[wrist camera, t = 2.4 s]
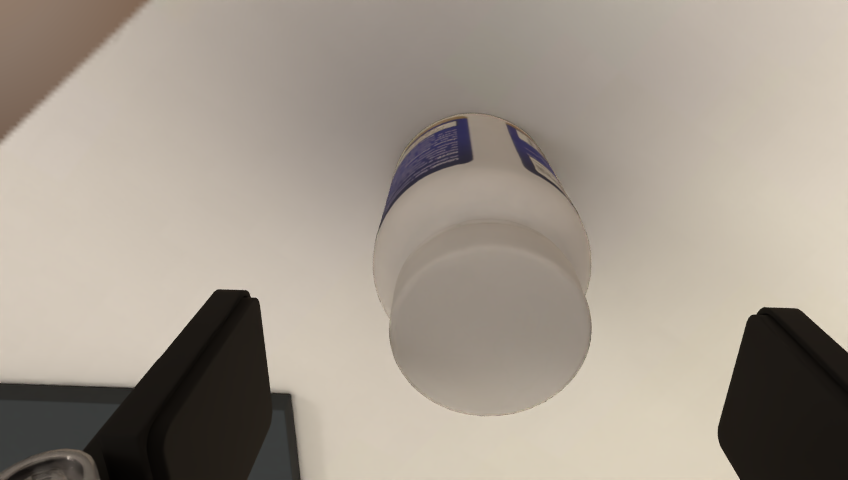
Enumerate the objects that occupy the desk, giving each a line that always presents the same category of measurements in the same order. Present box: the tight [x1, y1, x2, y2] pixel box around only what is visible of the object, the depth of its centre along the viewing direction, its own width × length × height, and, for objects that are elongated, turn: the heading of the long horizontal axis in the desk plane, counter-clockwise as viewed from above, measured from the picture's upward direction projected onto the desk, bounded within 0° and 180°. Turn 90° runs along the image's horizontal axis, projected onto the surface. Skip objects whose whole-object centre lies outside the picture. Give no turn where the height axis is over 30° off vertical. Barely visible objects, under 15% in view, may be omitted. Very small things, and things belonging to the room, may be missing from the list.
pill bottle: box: [373, 113, 592, 416], centre depth 15 cm, size 5×5×9 cm
